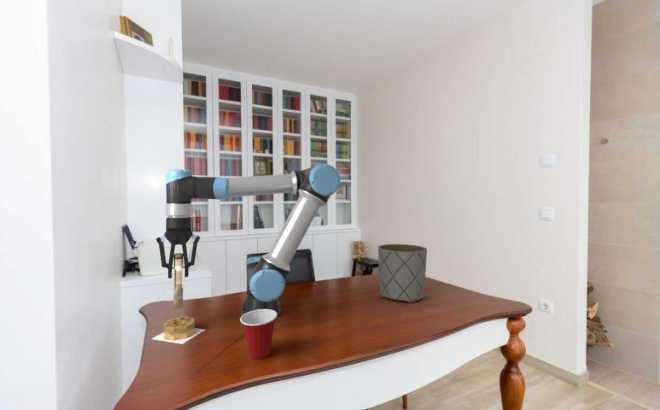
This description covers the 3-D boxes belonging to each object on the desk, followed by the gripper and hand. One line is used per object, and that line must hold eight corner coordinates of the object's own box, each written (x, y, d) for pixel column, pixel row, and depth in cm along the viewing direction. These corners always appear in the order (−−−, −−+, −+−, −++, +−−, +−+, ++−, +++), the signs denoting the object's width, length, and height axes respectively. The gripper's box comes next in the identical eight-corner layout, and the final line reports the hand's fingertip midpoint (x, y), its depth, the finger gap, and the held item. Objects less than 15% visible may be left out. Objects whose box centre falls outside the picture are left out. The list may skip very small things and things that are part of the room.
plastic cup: (234, 352, 95) (234, 313, 94) (267, 343, 101) (267, 306, 101) (248, 368, 86) (248, 325, 86) (283, 356, 93) (283, 316, 92)
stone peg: (184, 306, 106) (185, 253, 105) (178, 309, 103) (179, 255, 102) (177, 306, 106) (178, 253, 106) (171, 308, 104) (171, 254, 103)
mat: (205, 332, 109) (205, 329, 108) (182, 347, 98) (182, 343, 98) (176, 328, 112) (176, 325, 112) (151, 341, 101) (151, 338, 101)
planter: (431, 294, 154) (432, 246, 154) (417, 307, 135) (418, 253, 134) (388, 286, 166) (388, 242, 166) (369, 298, 147) (370, 248, 147)
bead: (199, 330, 108) (199, 318, 108) (180, 341, 99) (180, 329, 99) (178, 327, 110) (177, 315, 110) (157, 338, 102) (157, 325, 102)
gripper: (203, 215, 110) (202, 282, 111) (153, 216, 104) (153, 286, 105) (204, 217, 104) (203, 288, 104) (150, 217, 97) (150, 293, 98)
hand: (178, 287), depth 104 cm, fingers closed on stone peg, 2 cm apart
